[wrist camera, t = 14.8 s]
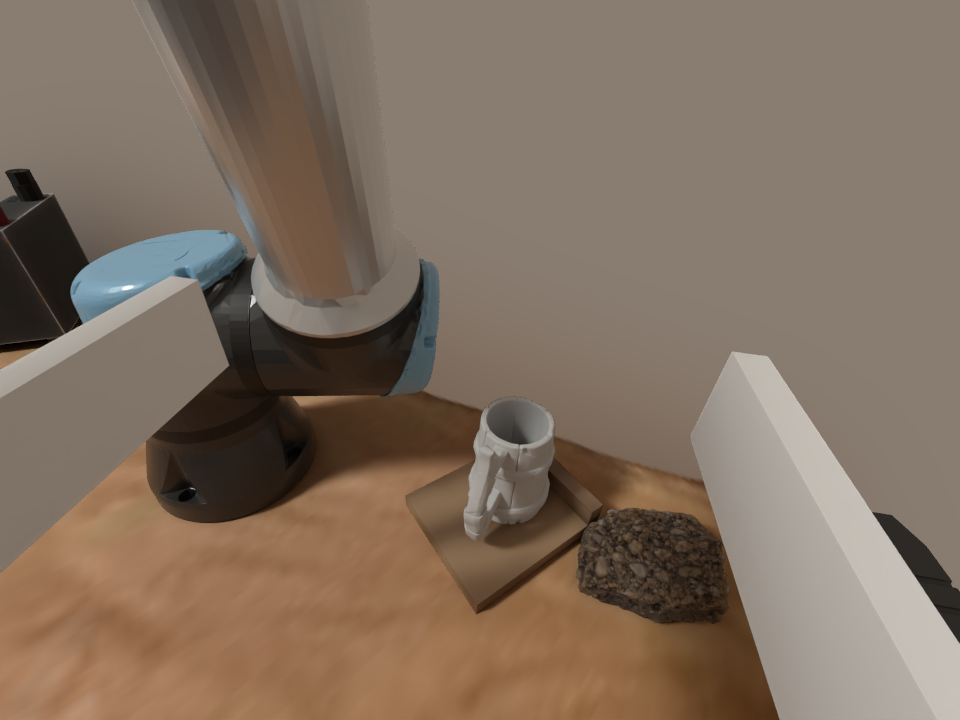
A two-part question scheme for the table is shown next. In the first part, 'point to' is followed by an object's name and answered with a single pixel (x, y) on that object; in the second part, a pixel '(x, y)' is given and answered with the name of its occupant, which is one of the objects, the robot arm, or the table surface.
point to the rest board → (500, 532)
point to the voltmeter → (36, 264)
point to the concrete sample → (654, 565)
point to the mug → (509, 464)
